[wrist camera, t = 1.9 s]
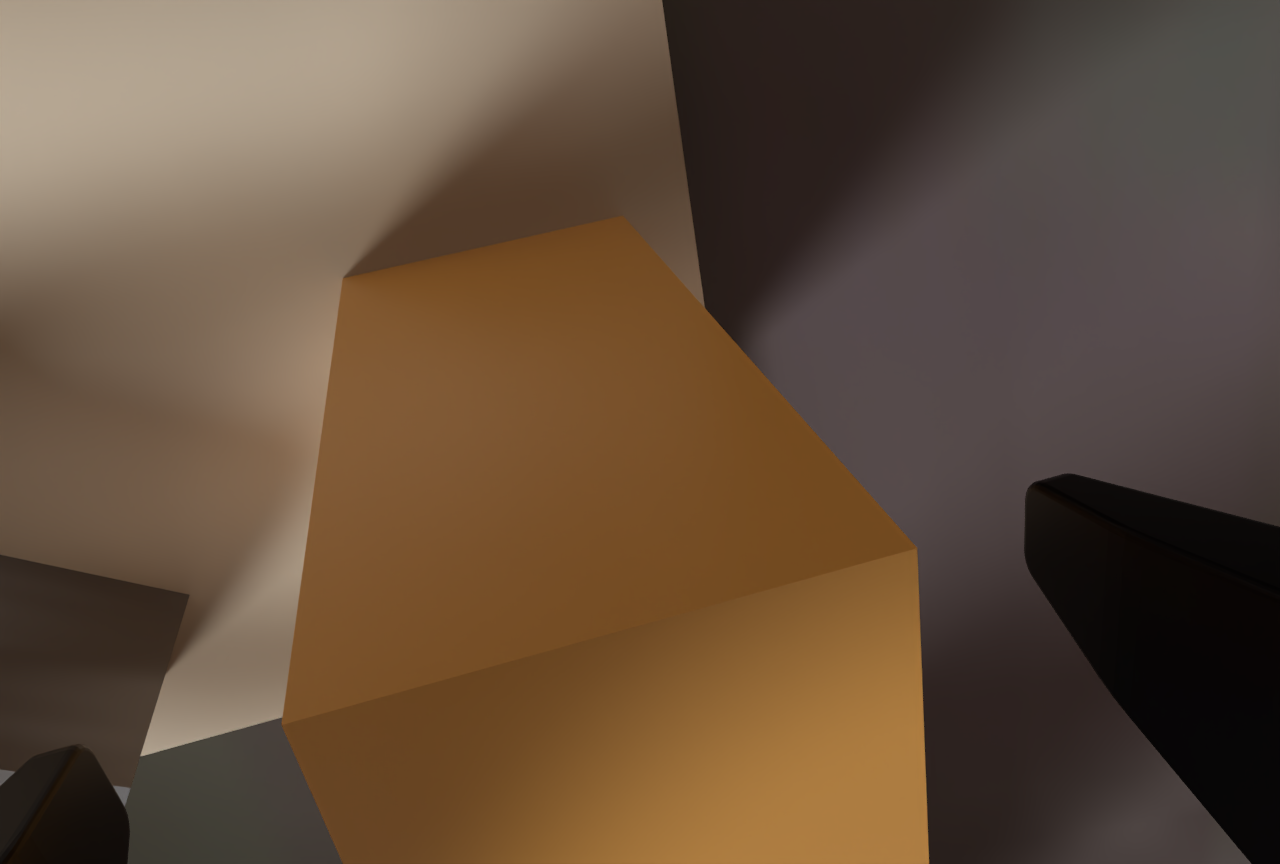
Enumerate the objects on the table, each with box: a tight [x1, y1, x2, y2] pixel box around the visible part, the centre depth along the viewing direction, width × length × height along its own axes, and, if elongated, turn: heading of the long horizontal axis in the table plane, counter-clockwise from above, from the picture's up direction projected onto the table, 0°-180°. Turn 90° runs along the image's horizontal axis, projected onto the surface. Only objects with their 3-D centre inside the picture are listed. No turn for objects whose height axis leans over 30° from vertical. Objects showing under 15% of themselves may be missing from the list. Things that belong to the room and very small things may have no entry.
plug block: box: [282, 216, 929, 864], centre depth 11 cm, size 4×4×9 cm
